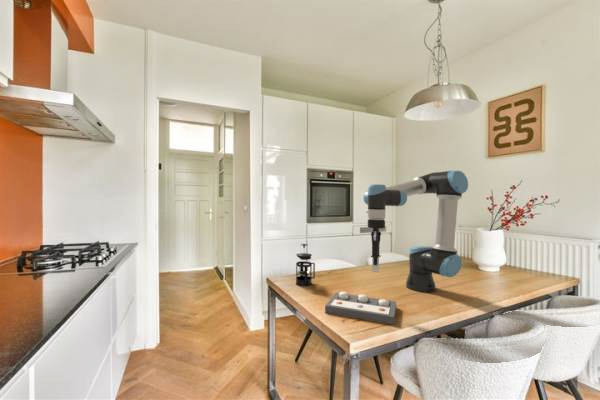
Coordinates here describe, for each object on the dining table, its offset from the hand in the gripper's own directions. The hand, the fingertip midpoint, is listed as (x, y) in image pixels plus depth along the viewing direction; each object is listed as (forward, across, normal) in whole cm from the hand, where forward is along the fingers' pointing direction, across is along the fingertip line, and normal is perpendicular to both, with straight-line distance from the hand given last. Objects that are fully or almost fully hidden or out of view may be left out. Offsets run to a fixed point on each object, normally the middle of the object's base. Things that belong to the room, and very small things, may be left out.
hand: (375, 271), depth 121 cm
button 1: (+15, -1, -14) cm, 21 cm away
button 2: (+16, 0, +4) cm, 16 cm away
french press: (+17, -22, -42) cm, 50 cm away
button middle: (+15, 0, -5) cm, 16 cm away
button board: (+17, +4, -5) cm, 18 cm away
